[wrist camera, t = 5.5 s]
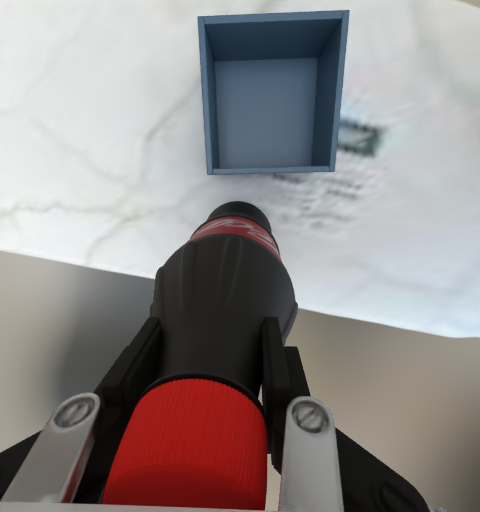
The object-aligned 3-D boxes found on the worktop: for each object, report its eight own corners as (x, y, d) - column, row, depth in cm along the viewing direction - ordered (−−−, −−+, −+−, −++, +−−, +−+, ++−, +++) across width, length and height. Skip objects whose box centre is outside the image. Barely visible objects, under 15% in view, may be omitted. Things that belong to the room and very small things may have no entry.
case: (321, 53, 30) (349, 9, 22) (313, 172, 34) (334, 171, 26) (210, 58, 31) (197, 16, 22) (216, 174, 35) (207, 174, 27)
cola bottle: (241, 185, 32) (175, 282, 3) (282, 233, 34) (457, 559, 5) (195, 227, 34) (-90, 507, 5) (235, 270, 36) (181, 652, 7)
